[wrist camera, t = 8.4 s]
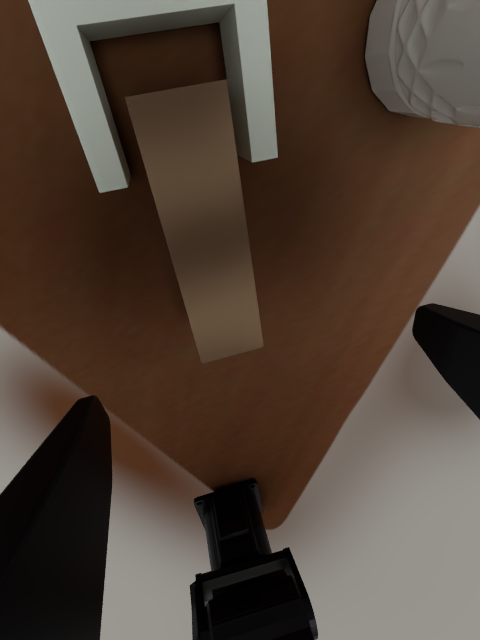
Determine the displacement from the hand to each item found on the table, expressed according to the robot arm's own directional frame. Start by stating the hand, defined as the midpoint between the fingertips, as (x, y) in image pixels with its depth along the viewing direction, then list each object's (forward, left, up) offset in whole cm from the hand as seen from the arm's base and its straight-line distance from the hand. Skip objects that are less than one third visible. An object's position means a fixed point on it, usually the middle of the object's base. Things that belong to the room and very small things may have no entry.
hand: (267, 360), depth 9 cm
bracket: (+6, 0, -12) cm, 13 cm away
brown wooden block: (+1, 0, -12) cm, 12 cm away
